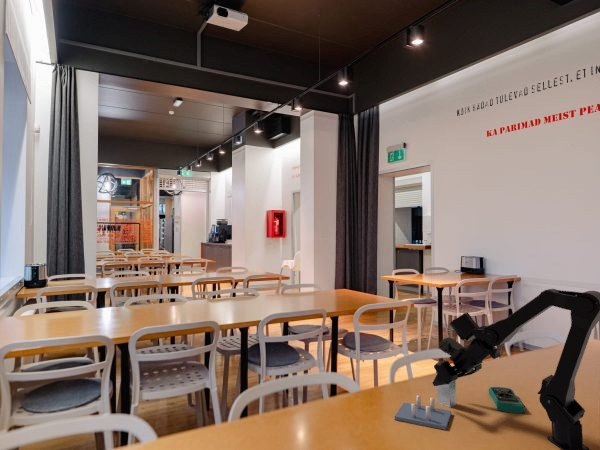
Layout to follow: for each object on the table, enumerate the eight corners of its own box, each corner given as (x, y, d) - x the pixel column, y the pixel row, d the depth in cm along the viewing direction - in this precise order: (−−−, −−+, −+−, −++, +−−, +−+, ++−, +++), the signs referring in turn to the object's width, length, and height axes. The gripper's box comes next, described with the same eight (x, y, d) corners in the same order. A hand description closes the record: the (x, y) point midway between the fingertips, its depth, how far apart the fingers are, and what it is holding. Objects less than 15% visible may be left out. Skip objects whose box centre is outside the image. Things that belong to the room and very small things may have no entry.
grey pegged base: (451, 414, 117) (451, 398, 117) (445, 430, 107) (445, 413, 107) (403, 405, 123) (403, 390, 123) (394, 419, 114) (394, 403, 114)
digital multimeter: (512, 396, 131) (512, 387, 131) (525, 415, 116) (525, 404, 117) (488, 394, 133) (488, 385, 133) (498, 412, 118) (497, 402, 118)
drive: (456, 404, 124) (455, 372, 124) (450, 407, 121) (449, 374, 122) (443, 400, 127) (442, 368, 127) (436, 403, 125) (436, 370, 125)
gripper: (471, 326, 128) (441, 353, 136) (438, 335, 116) (408, 365, 124) (496, 356, 121) (463, 383, 130) (465, 369, 110) (431, 397, 118)
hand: (441, 381), depth 126 cm, fingers open, 9 cm apart
